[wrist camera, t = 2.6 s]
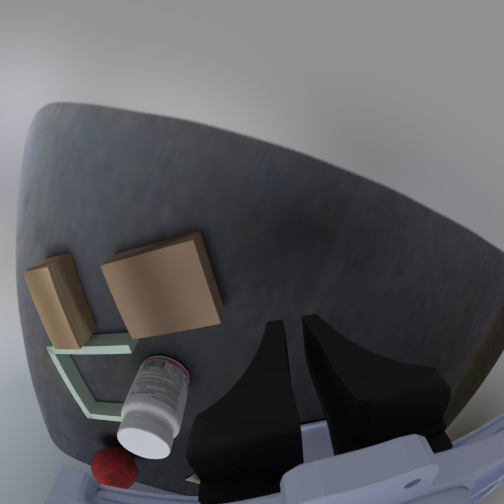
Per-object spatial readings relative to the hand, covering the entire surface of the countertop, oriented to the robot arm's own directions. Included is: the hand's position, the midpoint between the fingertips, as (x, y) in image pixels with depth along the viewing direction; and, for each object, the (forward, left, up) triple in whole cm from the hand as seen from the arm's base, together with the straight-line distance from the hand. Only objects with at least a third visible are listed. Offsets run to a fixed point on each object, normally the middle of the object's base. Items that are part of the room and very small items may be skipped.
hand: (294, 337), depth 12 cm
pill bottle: (+11, +9, -10) cm, 17 cm away
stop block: (+18, 0, -9) cm, 20 cm away
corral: (+17, +9, -9) cm, 21 cm away
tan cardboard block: (+8, 0, -10) cm, 13 cm away
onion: (+22, +22, -10) cm, 33 cm away
